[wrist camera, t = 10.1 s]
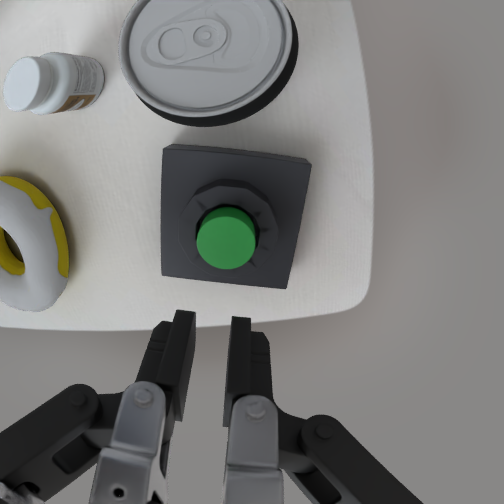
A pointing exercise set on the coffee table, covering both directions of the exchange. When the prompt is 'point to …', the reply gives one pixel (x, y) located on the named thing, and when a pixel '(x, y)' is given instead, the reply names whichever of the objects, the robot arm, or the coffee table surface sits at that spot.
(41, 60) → the pill bottle
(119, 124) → the coffee table surface
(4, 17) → the coffee table surface
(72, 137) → the coffee table surface
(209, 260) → the button
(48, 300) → the donut
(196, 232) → the button block
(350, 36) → the coffee table surface
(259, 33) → the beverage can
